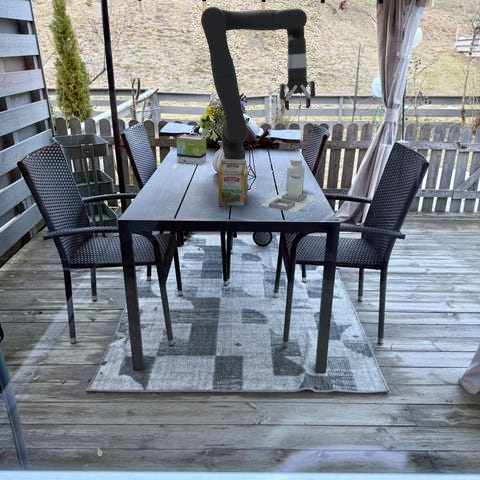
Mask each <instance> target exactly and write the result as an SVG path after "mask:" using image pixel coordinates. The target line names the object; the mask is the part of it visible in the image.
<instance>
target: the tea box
mask: <svg viewBox="0 0 480 480" xmlns="http://www.w3.org/2000/svg"><path fill="white" fill-rule="evenodd" d="M203 137H204V136H200V135H188V134H182V135H180V136H178V137H176V138H175V139H176V140H175V141H176V162H177V163H184V164H191V165H193V164H194V165H199V164H200V165H202V164H204V163H206V162H207V137H206V138H203ZM203 162H204V163H203Z"/></svg>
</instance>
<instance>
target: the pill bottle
mask: <svg viewBox="0 0 480 480" xmlns="http://www.w3.org/2000/svg"><path fill="white" fill-rule="evenodd" d="M289 161H290V164H288V166H287V170H286V181H285V183H286V184H285V191H286V192H288V187H289V178H291V175H293V174H298V175H301V177H302V178H303V184H302V192H303V190H304V179H305V166H304V165H303V159H302V158H300V157H299V158H298V157H293V158H292V157H291V158H290V160H289Z"/></svg>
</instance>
